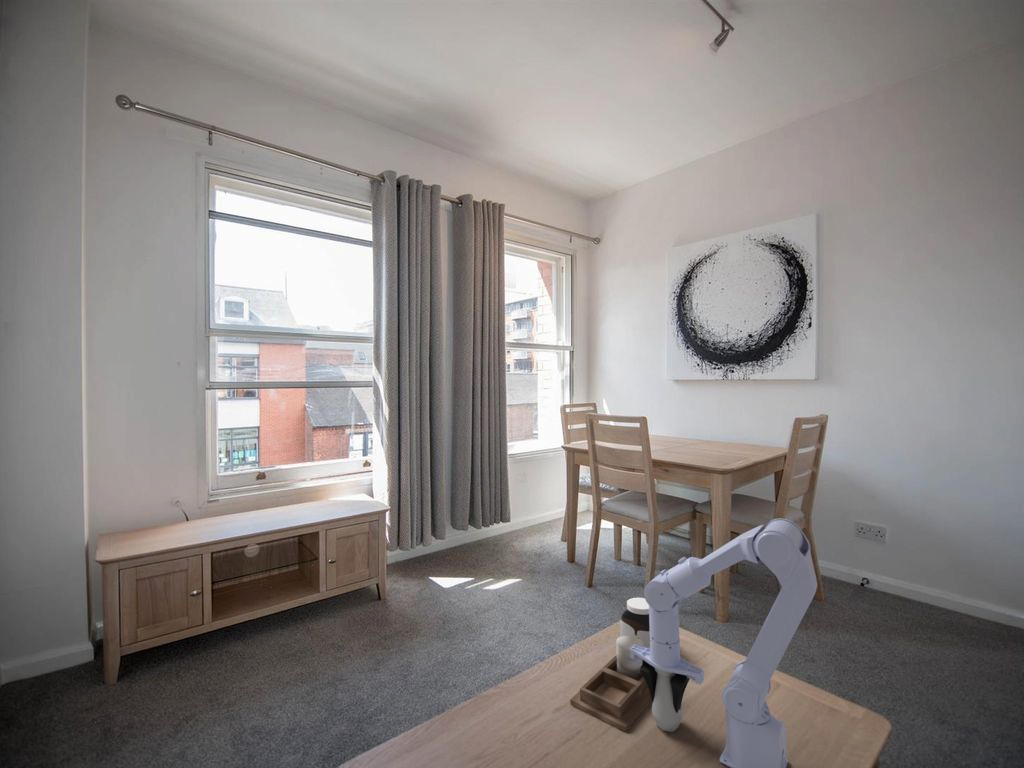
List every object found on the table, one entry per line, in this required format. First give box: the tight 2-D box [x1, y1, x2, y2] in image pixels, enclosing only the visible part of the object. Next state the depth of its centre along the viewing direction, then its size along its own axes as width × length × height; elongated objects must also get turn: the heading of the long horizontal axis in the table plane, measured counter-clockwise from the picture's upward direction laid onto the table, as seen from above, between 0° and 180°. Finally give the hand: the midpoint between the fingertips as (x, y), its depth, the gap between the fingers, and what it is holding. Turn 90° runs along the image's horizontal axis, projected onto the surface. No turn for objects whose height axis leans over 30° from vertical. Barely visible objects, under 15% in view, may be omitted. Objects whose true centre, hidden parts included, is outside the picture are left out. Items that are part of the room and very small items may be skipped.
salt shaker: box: [651, 668, 683, 733], centre depth 94 cm, size 6×6×13 cm
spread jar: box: [619, 597, 650, 648], centre depth 122 cm, size 12×11×12 cm
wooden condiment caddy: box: [569, 635, 652, 733], centre depth 104 cm, size 13×21×9 cm, turn 139°
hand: (666, 705), depth 94 cm, fingers closed on salt shaker, 4 cm apart
